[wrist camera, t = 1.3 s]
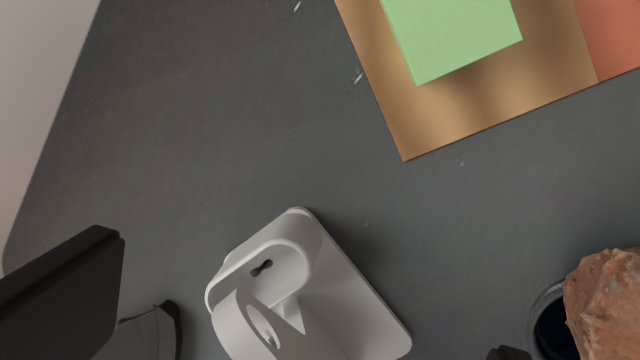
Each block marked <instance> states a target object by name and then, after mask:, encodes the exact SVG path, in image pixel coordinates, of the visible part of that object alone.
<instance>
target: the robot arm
mask: <svg viewBox="0 0 640 360" xmlns="http://www.w3.org/2000/svg"><path fill="white" fill-rule="evenodd" d="M124 247H125V241H124V239H123V238H120V234H119V232H118V231H116V230H113V229H109V228H106V227H102V226H99V225H93V226H91V227H89V228H87V229H86V230H84V231H82V232H81V233H79V234H77V235H75V236H74V237H72V238H70V239H69V240H67V241H65V242H63V243H62V244H60V245H58V246H57V247H55V248H53V249H51V250H50V251H48V252H46V253H45V254H43V255H41V256H39V257H38V258H36V259H34V260H33V261H31V262H29V263H27V264H26V265H24V266H22V267H21V268H19V269H17V270H16V271H14V272H12V273H10V274H9V275H7V276H5V277H4V278H2V279H0V360H91V359H92V358H93V357H94V356H95V355H96V354H97V353H98V352H99V351H100V349H101V348H102V347H103V346H104V345H105V344H106V343H107V342H108V341H109V340H110V338H111V337H112V335H113V333H114V330H115V325H116V317H117V308H118V299H119V290H120V282H121V273H122V264H123V256H124ZM486 360H532V358H531V356H530V354H529V353H528V352H526V351H523V350H520V349H516V348H513V347H510V346H506V345H501V346H500V347H499V348H498V349H495V348H493V349H491V350H490V352H489V354H488V356H487V358H486Z"/></svg>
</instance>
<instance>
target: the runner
mask: <svg viewBox="0 0 640 360" xmlns="http://www.w3.org/2000/svg"><path fill="white" fill-rule="evenodd" d="M334 1H335V3H336V5H337V8H338V10H339V12H340V15H341V17H342V19H343V22H344V24H345V26H346V29H347V31H348V33H349V36H350V38H351V40H352V43H353V45H354V47H355V50H356V52H357V54H358V57H359V59H360V61H361V64H362V66H363V68H364V71H365V73H366V76H367V78H368V80H369V83H370V85H371V87H372V90H373V92H374V94H375V97H376V99H377V101H378V104H379V106H380V108H381V111H382V113H383V115H384V118H385V120H386V122H387V125H388V127H389V129H390V132H391V134H392V136H393V139H394V141H395V143H396V146H397V148H398V150H399V153H400V155H401V157H402V160H403V162H405V161H407V160H410V159H412V158H415V157H417V156H420V155H422V154H425V153H427V152H429V151H432V150H434V149H437V148H439V147H442V146H444V145H447V144H449V143H452V142H454V141H457V140H459V139H462V138H464V137H467V136H469V135H471V134H474V133H476V132H479V131H481V130H484V129H486V128H489V127H491V126H494V125H496V124H499V123H501V122H504V121H506V120H508V119H511V118H513V117H516V116H518V115H521V114H523V113H526V112H528V111H531V110H533V109H536V108H538V107H541V106H543V105H545V104H548V103H550V102H553V101H555V100H558V99H560V98H563V97H565V96H568V95H570V94H573V93H575V92H578V91H580V90H582V89H585V88H587V87H590V86H592V85H595V84H597V83H600V82H602V81H605V80H607V79H610V78H612V77H615V76H617V75H620V74H622V73H624V72H627V71H629V70H632V69H634V68H637V67H639V66H640V0H510V3H511V6H512V9H513V11H514V14H515V17H516V20H517V23H518V26H519V29H520V32H521V35H522V38H523V40H521V41H519V42H517V43H515V44H512V45H510V46H508V47H506V48H503V49H501V50H499V51H497V52H495V53H492V54H490V55H488V56H486V57H483V58H481V59H479V60H477V61H474V62H472V63H470V64H468V65H465V66H463V67H461V68H459V69H456V70H454V71H452V72H450V73H447V74H445V75H443V76H441V77H438V78H436V79H434V80H432V81H430V82H427V83H425V84H423V85H421V86H418V87H417V86H416V85H415V84H414V83H413V82H412V79H411V77H410V74H409V72H408V69H407V67H406V64H405V62H404V60H403V57H402V55H401V52H400V50H399V47H398V45H397V42H396V40H395V37H394V35H393V32H392V30H391V28H390V25H389V23H388V20H387V18H386V15H385V13H384V10H383V8H382V5H381V3H380V0H334Z"/></svg>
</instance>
